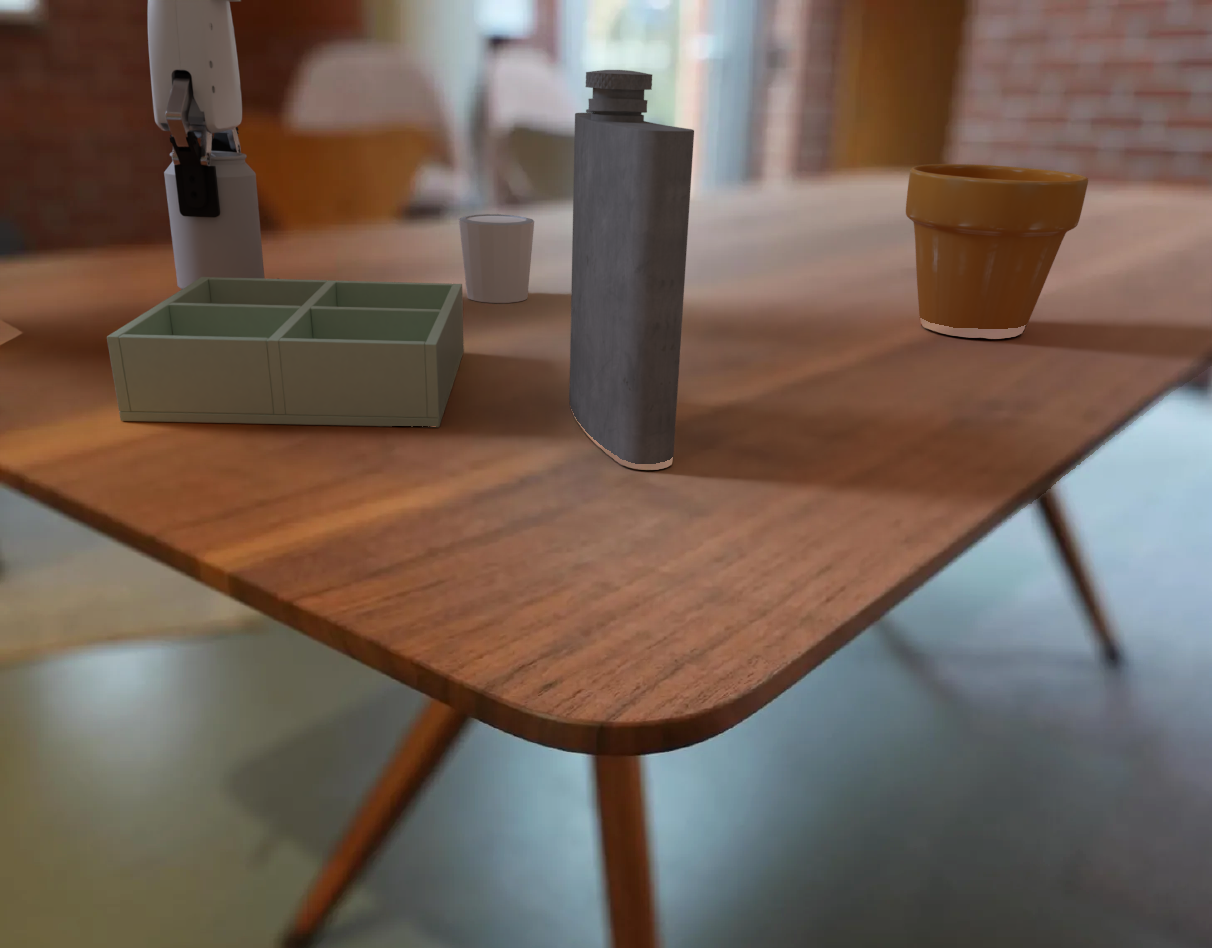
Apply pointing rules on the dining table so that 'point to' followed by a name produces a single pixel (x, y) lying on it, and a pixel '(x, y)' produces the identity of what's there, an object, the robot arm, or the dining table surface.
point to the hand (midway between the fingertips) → (214, 209)
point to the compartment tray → (292, 353)
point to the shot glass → (496, 256)
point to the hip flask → (628, 268)
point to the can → (219, 226)
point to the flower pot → (987, 239)
